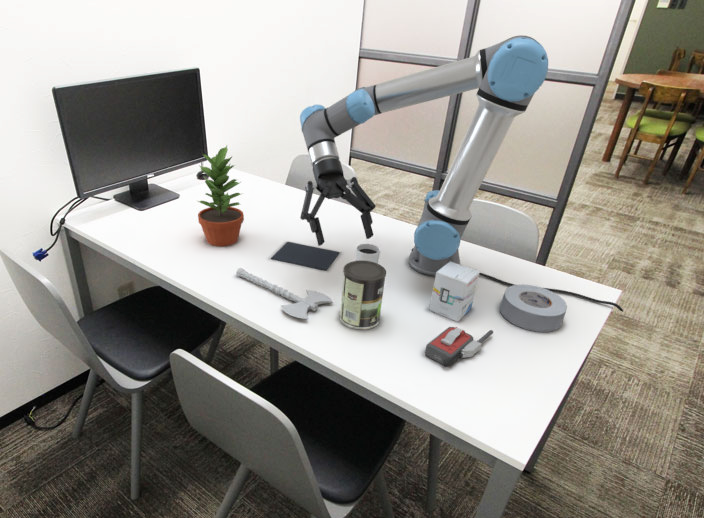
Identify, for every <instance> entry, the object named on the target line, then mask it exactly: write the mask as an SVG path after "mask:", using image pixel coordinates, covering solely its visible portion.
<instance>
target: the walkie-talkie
mask: <svg viewBox="0 0 704 518" xmlns="http://www.w3.org/2000/svg"><path fill="white" fill-rule="evenodd" d="M493 334H494V330H492V329H490V330H489V331H488V332H486V333H485V334H484V335H482V336H481V337H480V338H479V339H477V340H475V339H474V336H473V335H471V334H470V333H468V332H466V331H465V330H464V329H462V328H459V327H458V326H448V327H447V328H446V329H445V330H443V331H442V332H441V333H439V334H438V335H437V336H436V337H435V338H433V339H432V340H431V341H428V343H427V344H426V346H425V350H424V355H425V356H427V357H428V358H430V359H432V360H434V362H435V361H436V362H438V363H439V364H441V365H443V366H445V367H449V366H451V365H452V364H454V362H456V361H457V360H458V359H459V358H461V359H463V358H465V359H466V358H472V357H473V356H474V355H476V353H478V352H480V351H481V349H482V344H483V343H485V342H486V341H487V340H488V339H489V338H490V337H491V336H492V335H493Z"/></svg>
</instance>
